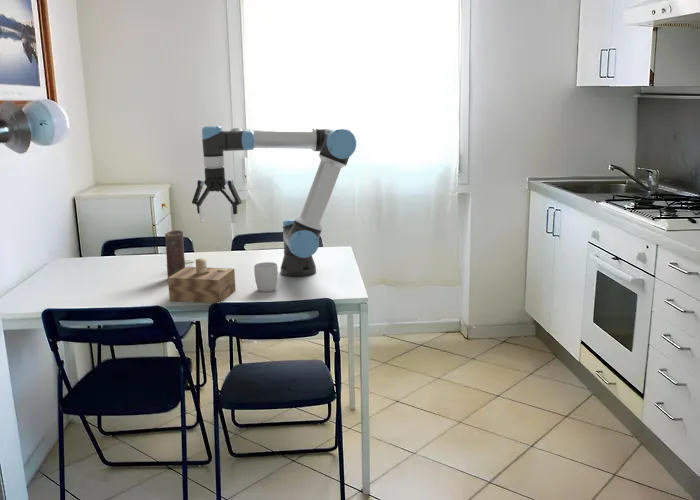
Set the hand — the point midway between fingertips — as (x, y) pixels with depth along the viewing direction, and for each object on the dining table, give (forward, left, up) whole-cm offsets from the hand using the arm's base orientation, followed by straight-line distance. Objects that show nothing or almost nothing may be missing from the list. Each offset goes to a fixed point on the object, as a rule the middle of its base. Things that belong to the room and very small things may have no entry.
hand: (218, 222), depth 264 cm
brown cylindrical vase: (+24, -9, -27) cm, 37 cm away
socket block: (+3, +12, -26) cm, 29 cm away
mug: (-18, -1, -27) cm, 32 cm away
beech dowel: (+3, +12, -21) cm, 24 cm away
